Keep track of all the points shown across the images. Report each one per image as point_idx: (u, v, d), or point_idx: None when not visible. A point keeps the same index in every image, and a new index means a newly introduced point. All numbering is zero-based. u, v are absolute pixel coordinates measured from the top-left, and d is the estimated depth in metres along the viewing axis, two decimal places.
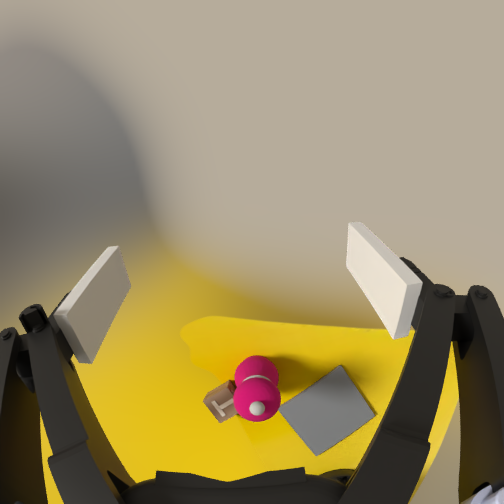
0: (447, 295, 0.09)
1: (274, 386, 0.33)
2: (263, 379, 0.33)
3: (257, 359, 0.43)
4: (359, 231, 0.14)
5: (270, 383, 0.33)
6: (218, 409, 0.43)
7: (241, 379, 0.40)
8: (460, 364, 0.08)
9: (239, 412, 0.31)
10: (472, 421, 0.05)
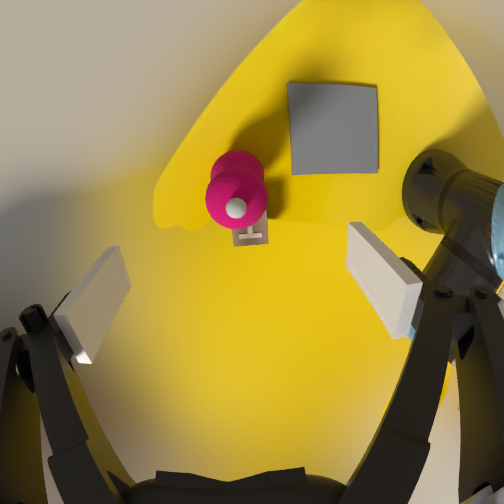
0: (448, 295, 0.08)
1: (229, 170, 0.26)
2: (214, 177, 0.26)
3: (214, 165, 0.36)
4: (359, 231, 0.14)
5: (222, 173, 0.26)
6: (251, 236, 0.41)
7: None
8: (460, 364, 0.08)
9: (237, 228, 0.27)
10: (472, 421, 0.05)
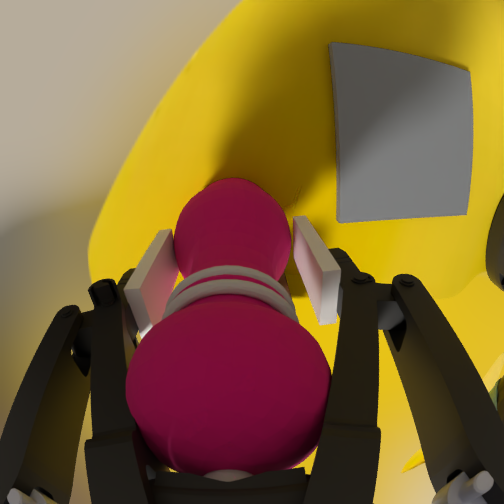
0: (366, 281, 0.10)
1: (191, 342, 0.06)
2: (140, 352, 0.06)
3: (179, 221, 0.16)
4: (298, 224, 0.15)
5: (164, 350, 0.06)
6: None
7: None
8: (397, 356, 0.09)
9: None
10: (425, 412, 0.06)
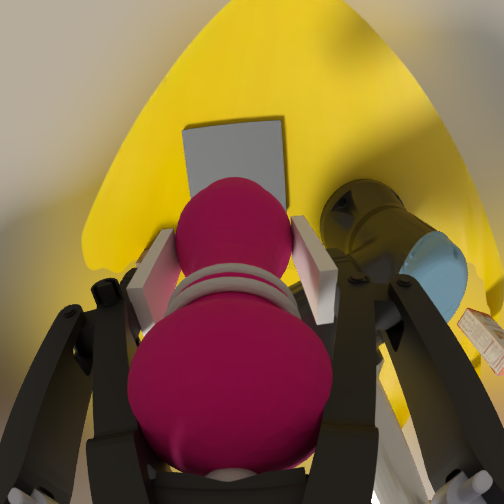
0: (363, 281, 0.10)
1: (195, 340, 0.06)
2: (143, 350, 0.06)
3: (181, 220, 0.16)
4: (296, 224, 0.15)
5: (167, 347, 0.06)
6: None
7: None
8: (395, 356, 0.09)
9: None
10: (423, 412, 0.06)
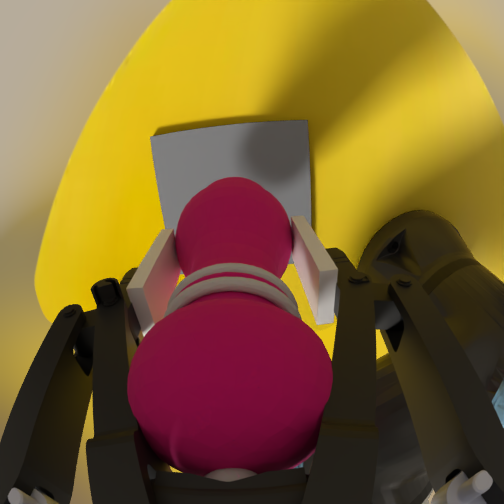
0: (363, 281, 0.10)
1: (195, 340, 0.06)
2: (142, 350, 0.06)
3: (181, 220, 0.16)
4: (296, 224, 0.15)
5: (167, 347, 0.06)
6: None
7: None
8: (395, 356, 0.09)
9: None
10: (423, 412, 0.06)
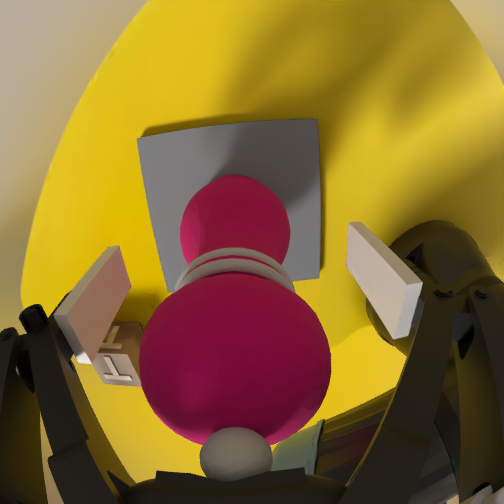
0: (447, 296, 0.08)
1: (204, 305, 0.07)
2: (155, 319, 0.07)
3: (186, 213, 0.17)
4: (359, 231, 0.14)
5: (179, 313, 0.07)
6: (119, 377, 0.25)
7: None
8: (460, 364, 0.08)
9: None
10: (472, 421, 0.05)
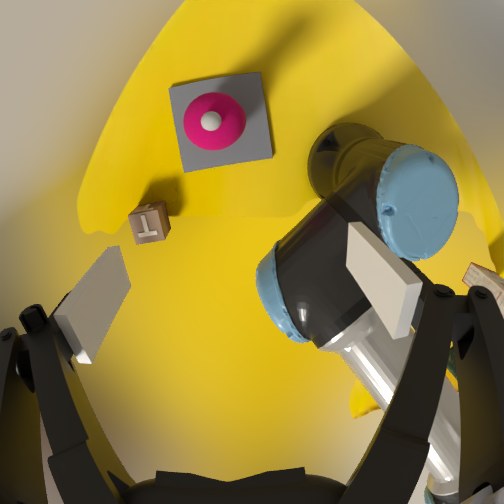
0: (447, 295, 0.08)
1: None
2: (190, 103, 0.25)
3: None
4: (359, 231, 0.14)
5: (198, 96, 0.24)
6: (148, 234, 0.43)
7: None
8: (460, 364, 0.08)
9: (215, 146, 0.25)
10: (472, 421, 0.05)
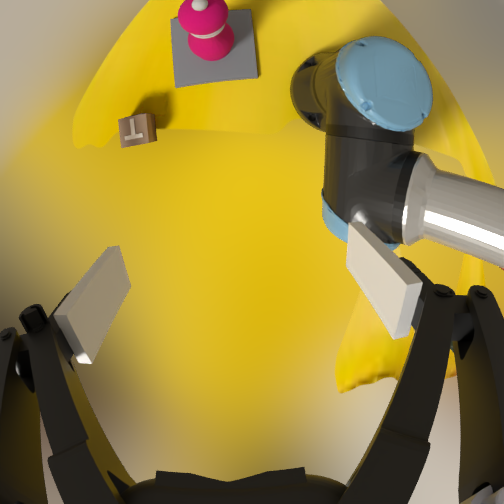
0: (448, 295, 0.08)
1: None
2: None
3: None
4: (359, 231, 0.14)
5: None
6: (134, 137, 0.41)
7: (195, 41, 0.32)
8: (460, 364, 0.08)
9: (201, 26, 0.24)
10: (472, 421, 0.05)
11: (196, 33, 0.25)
